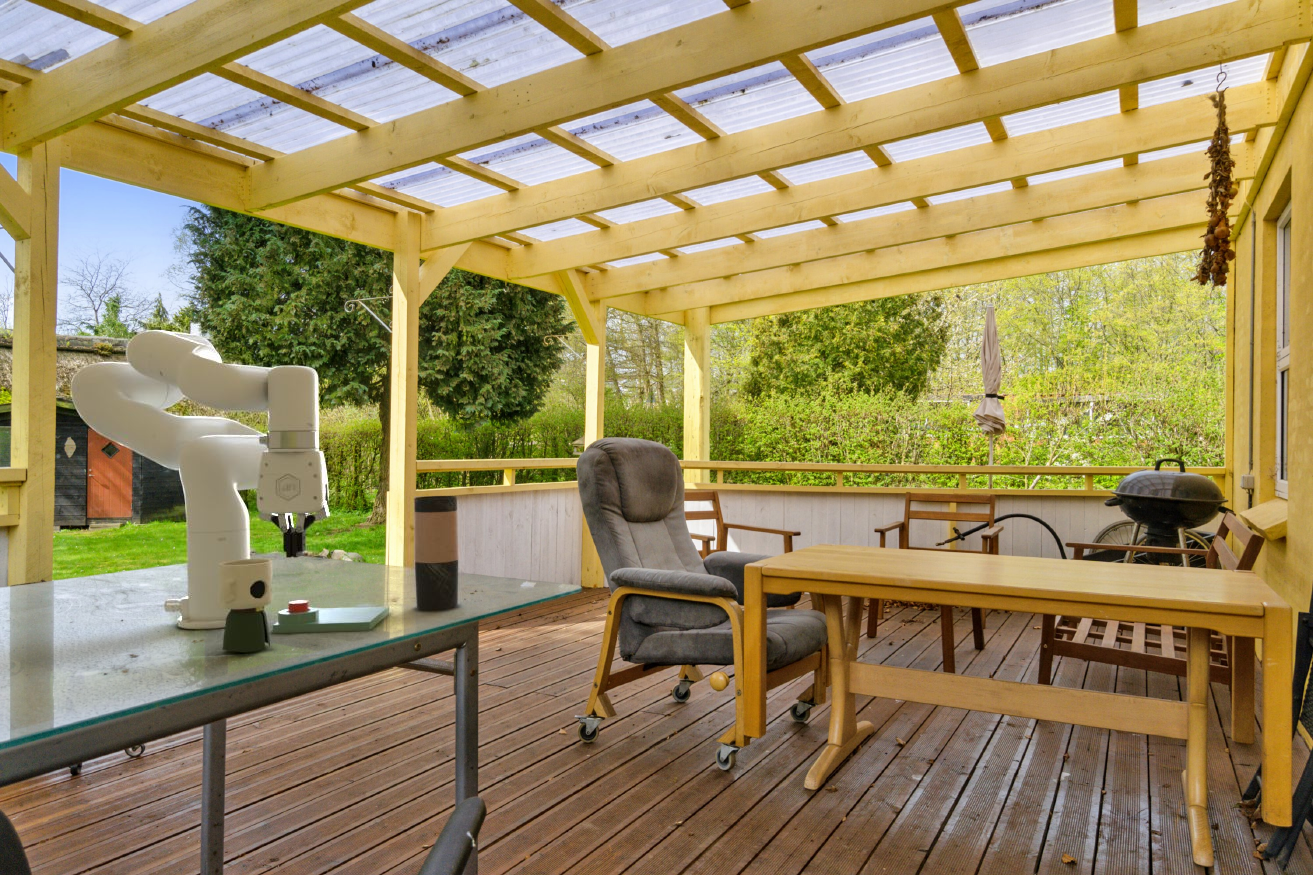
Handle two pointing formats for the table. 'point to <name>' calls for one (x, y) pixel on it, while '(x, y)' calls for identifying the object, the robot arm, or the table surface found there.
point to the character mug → (245, 603)
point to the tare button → (298, 606)
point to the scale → (330, 619)
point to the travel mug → (436, 552)
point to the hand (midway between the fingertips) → (294, 556)
